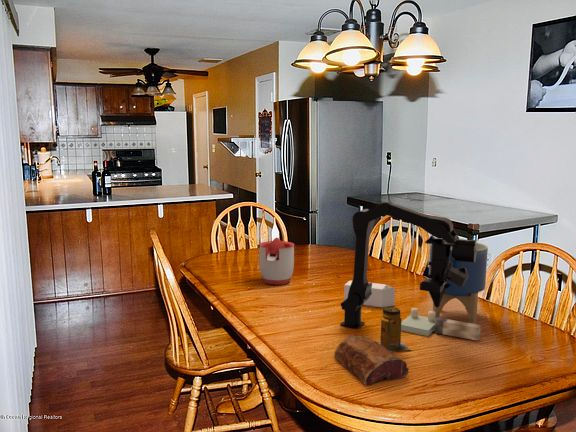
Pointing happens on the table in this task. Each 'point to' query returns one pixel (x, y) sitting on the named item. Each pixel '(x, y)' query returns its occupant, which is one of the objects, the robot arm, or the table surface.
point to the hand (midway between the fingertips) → (437, 306)
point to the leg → (457, 328)
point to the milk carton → (376, 295)
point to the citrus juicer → (276, 261)
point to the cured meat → (369, 360)
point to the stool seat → (419, 323)
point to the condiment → (392, 330)
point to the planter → (466, 283)
